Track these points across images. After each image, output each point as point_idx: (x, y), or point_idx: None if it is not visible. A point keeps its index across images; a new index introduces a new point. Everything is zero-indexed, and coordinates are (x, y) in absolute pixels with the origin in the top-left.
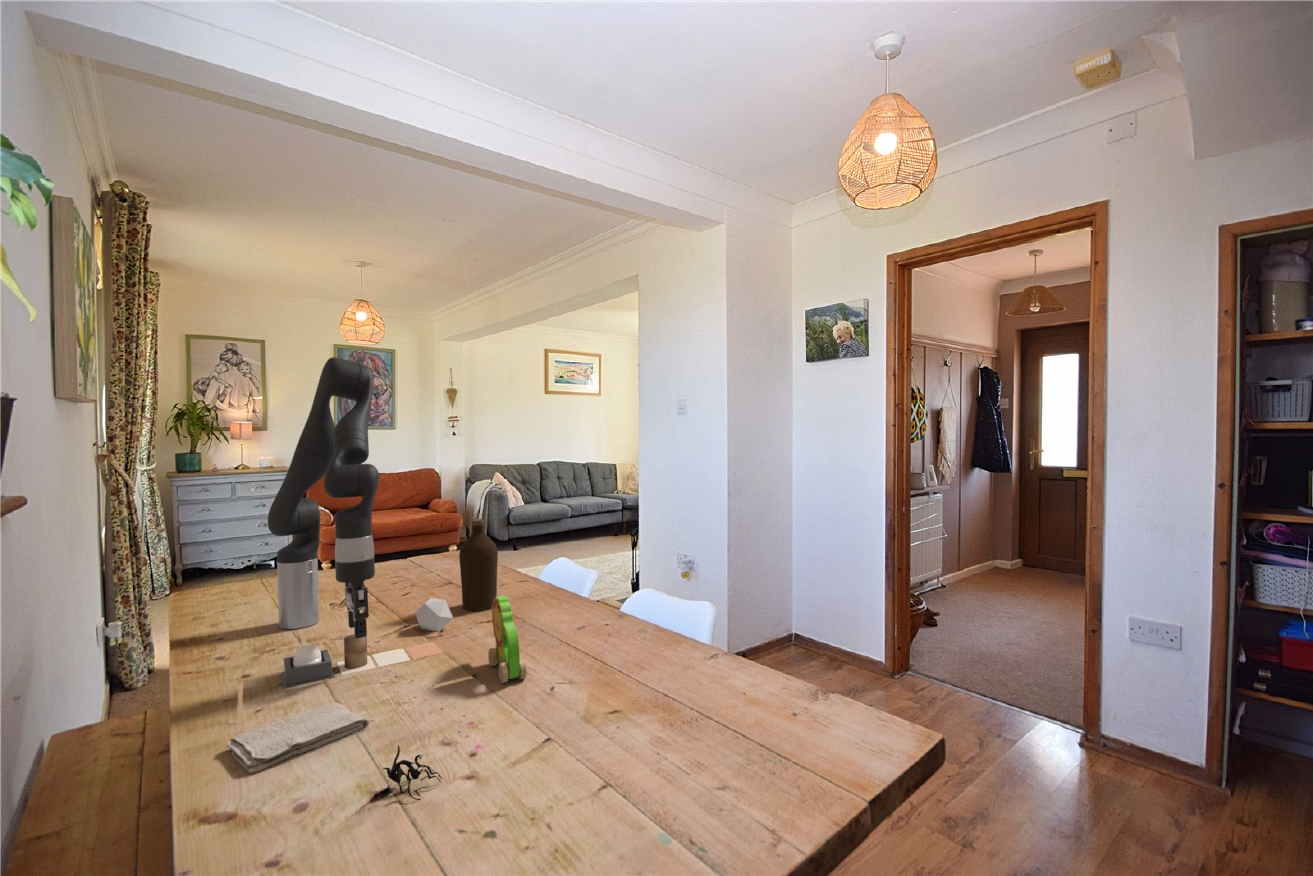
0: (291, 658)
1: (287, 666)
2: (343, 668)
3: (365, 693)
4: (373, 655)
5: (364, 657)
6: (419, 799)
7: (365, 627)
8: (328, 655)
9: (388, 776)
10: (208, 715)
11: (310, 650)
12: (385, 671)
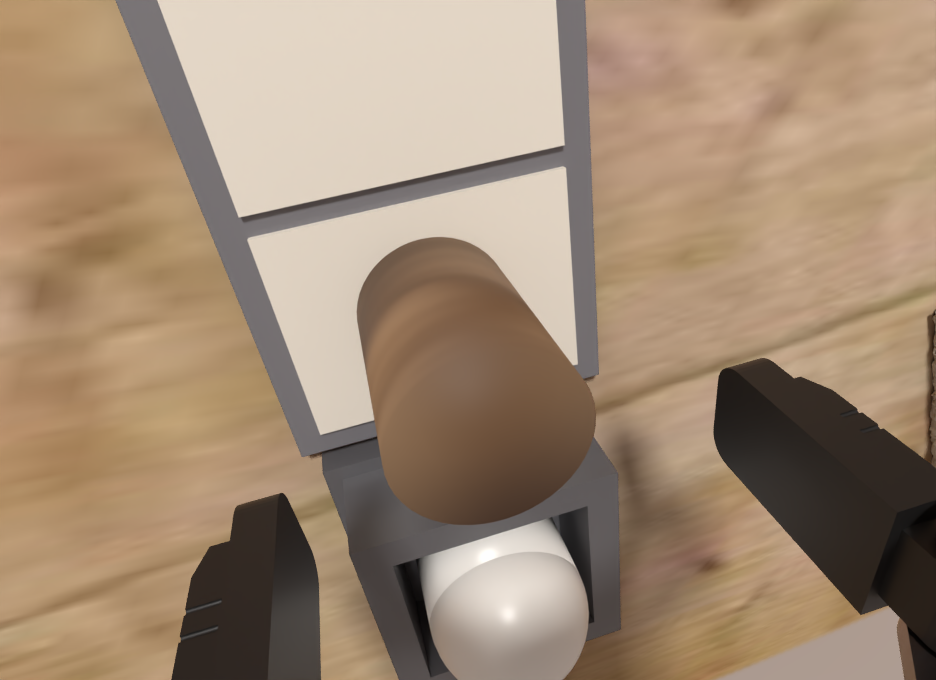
0: (427, 671)
1: None
2: None
3: (852, 200)
4: (268, 203)
5: (504, 276)
6: None
7: (835, 423)
8: None
9: None
10: (644, 671)
11: (578, 639)
12: (592, 87)
